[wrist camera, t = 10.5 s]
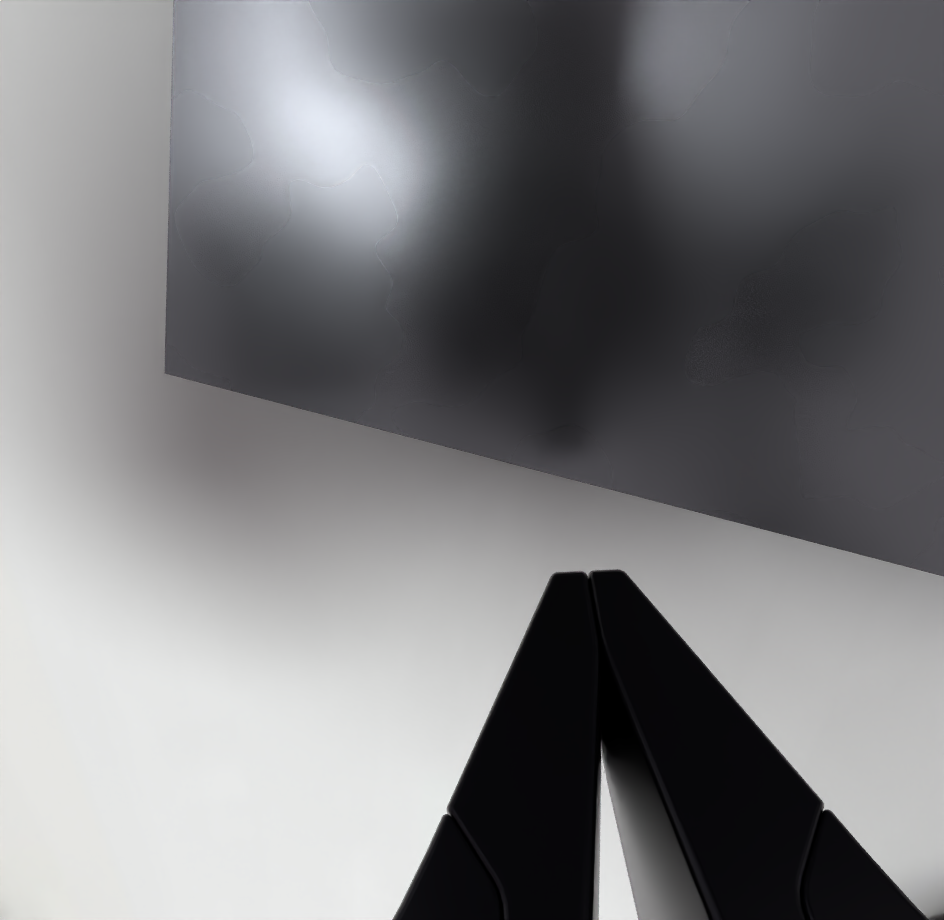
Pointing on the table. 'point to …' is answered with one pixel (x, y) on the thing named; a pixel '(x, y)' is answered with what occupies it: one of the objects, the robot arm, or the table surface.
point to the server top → (584, 241)
